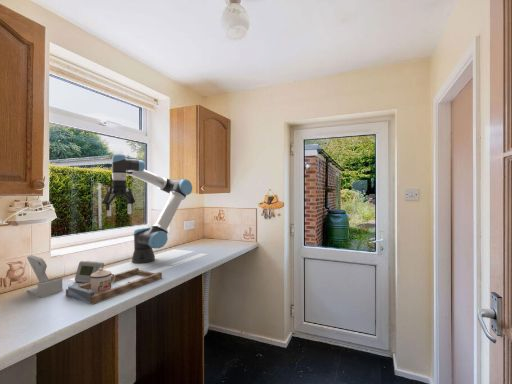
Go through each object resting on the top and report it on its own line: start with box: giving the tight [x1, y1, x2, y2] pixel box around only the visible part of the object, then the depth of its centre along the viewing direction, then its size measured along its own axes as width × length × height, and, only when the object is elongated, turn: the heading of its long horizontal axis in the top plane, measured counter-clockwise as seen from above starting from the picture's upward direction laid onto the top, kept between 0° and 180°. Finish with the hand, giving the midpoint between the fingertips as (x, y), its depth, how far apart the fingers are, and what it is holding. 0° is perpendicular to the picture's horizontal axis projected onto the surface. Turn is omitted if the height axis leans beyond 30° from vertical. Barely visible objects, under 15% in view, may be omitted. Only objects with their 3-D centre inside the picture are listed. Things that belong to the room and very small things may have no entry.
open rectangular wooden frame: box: [65, 267, 163, 305], centre depth 140 cm, size 39×21×4 cm, turn 152°
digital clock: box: [74, 260, 105, 284], centre depth 148 cm, size 16×9×11 cm, turn 64°
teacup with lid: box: [90, 267, 115, 295], centre depth 133 cm, size 12×9×12 cm
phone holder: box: [26, 254, 64, 298], centre depth 134 cm, size 17×10×18 cm, turn 57°
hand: (119, 215), depth 164 cm, fingers open, 13 cm apart
